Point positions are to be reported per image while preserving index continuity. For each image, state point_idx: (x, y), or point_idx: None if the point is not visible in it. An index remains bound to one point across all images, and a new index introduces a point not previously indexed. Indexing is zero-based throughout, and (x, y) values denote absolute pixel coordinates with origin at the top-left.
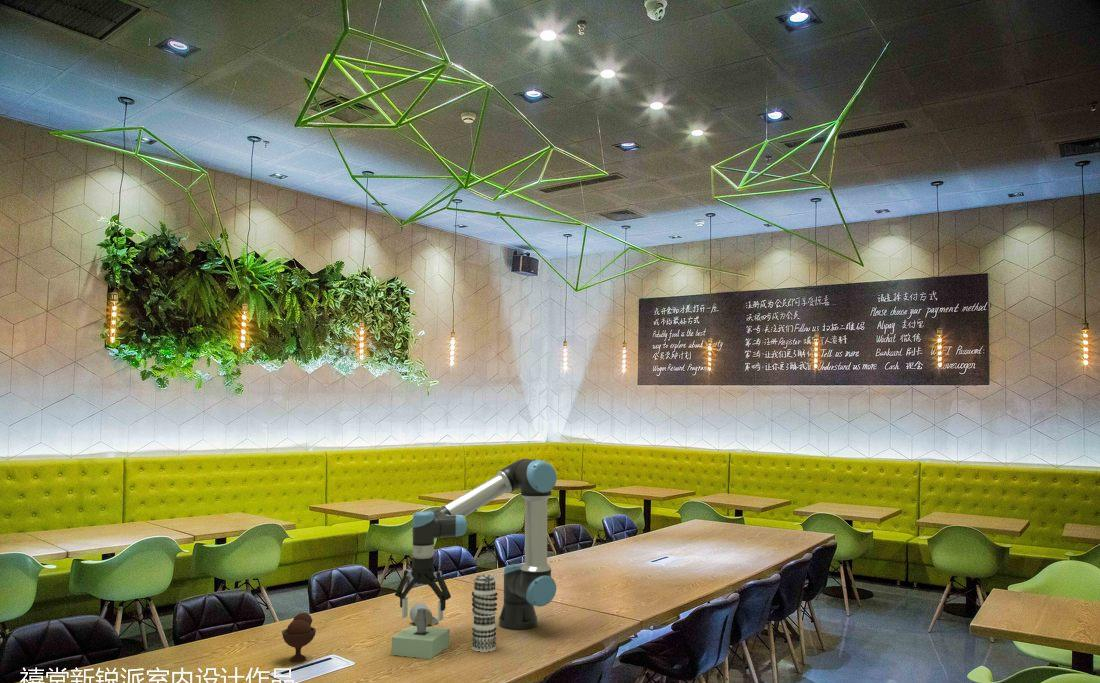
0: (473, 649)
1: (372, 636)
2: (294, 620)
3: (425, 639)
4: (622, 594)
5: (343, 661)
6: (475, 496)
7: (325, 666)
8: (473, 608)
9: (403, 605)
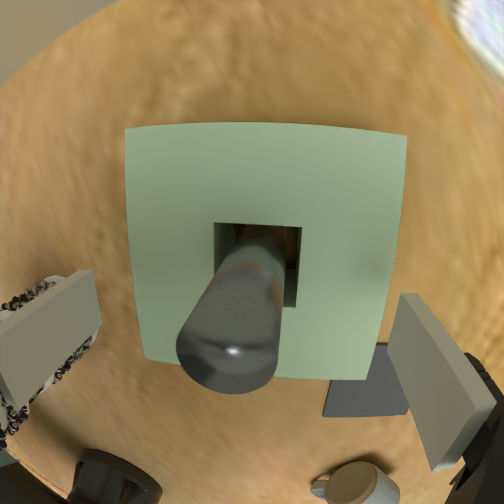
0: None
1: (494, 354)
2: None
3: (171, 140)
4: None
5: (501, 50)
6: None
7: None
8: (3, 397)
9: (451, 356)
